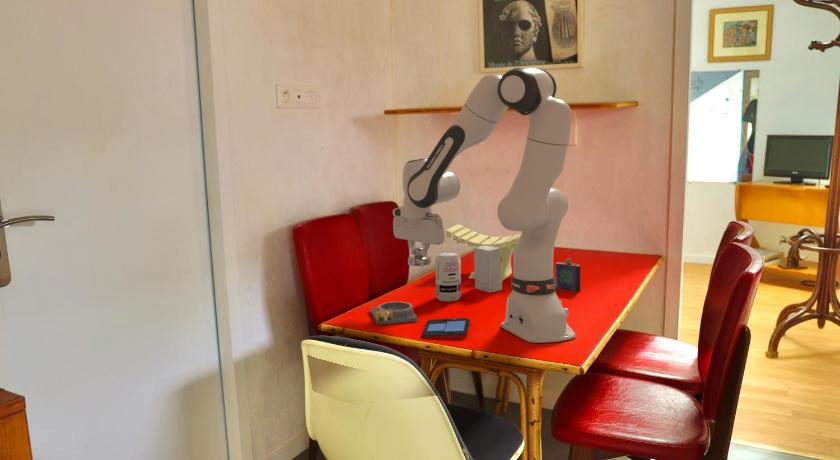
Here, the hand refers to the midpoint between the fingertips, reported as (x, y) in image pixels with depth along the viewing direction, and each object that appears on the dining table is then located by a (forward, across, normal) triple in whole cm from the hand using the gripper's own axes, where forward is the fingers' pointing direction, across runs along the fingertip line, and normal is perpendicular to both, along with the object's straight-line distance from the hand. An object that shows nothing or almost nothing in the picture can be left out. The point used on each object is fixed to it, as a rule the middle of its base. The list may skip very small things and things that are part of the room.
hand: (419, 255), depth 204 cm
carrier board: (+17, -2, +13) cm, 21 cm away
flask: (+17, -22, -48) cm, 56 cm away
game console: (+18, -22, +11) cm, 30 cm away
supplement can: (+17, 0, -12) cm, 21 cm away
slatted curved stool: (+17, +11, -47) cm, 51 cm away
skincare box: (+17, -2, -30) cm, 34 cm away
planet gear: (+3, 0, 0) cm, 3 cm away
